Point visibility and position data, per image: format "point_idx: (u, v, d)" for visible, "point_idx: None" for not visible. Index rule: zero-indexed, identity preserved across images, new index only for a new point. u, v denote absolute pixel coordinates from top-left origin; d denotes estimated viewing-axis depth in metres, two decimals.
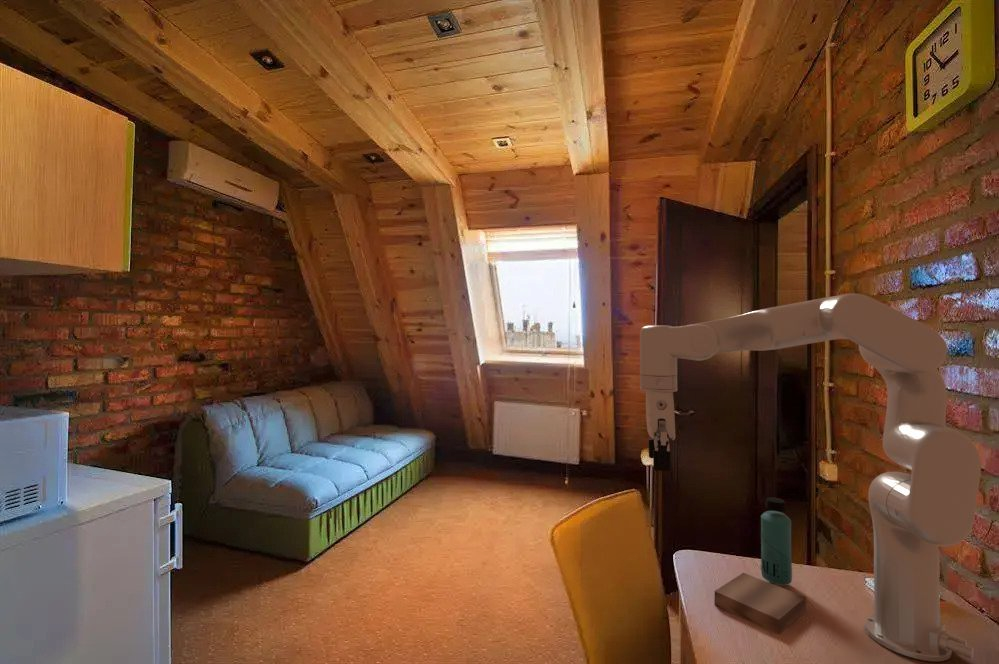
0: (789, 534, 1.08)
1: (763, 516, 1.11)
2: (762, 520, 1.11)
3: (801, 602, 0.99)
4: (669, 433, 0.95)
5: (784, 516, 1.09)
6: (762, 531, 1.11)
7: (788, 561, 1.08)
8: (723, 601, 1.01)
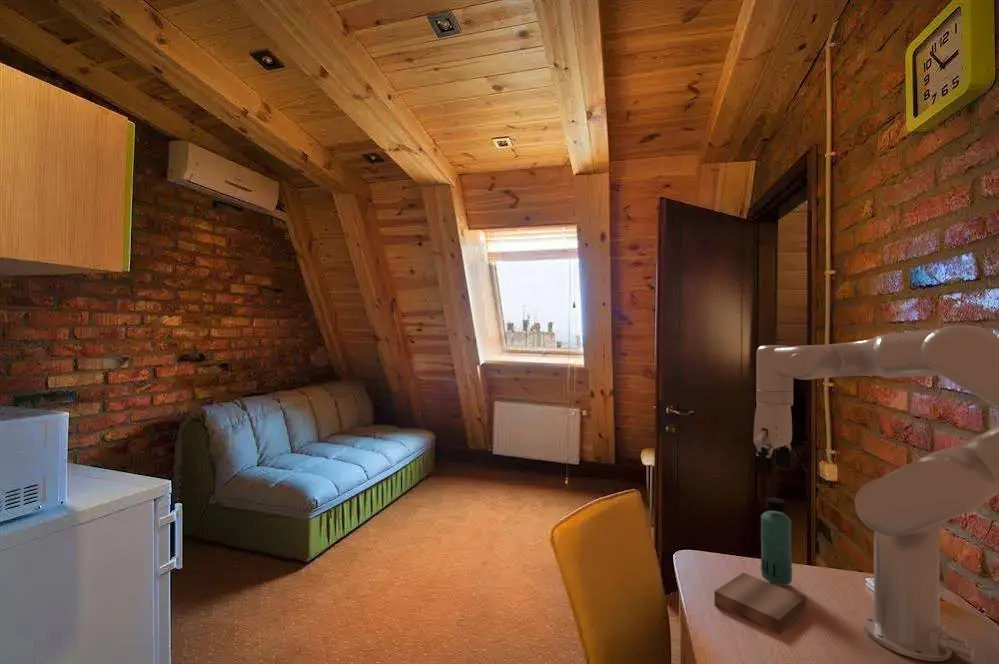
0: (789, 534, 1.08)
1: (763, 516, 1.11)
2: (762, 520, 1.11)
3: (801, 602, 0.99)
4: None
5: (784, 516, 1.09)
6: (762, 531, 1.11)
7: (788, 561, 1.08)
8: (723, 601, 1.01)
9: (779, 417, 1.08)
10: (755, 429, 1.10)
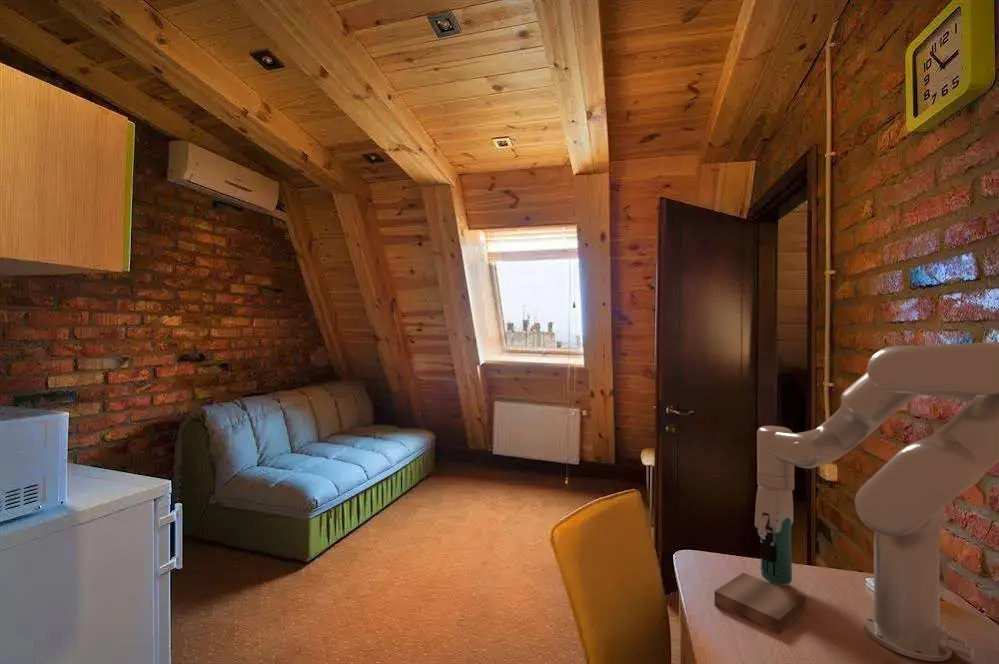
0: (789, 534, 1.08)
1: None
2: None
3: (801, 602, 0.99)
4: None
5: None
6: None
7: (788, 561, 1.08)
8: (723, 601, 1.01)
9: (780, 502, 1.07)
10: (756, 512, 1.10)
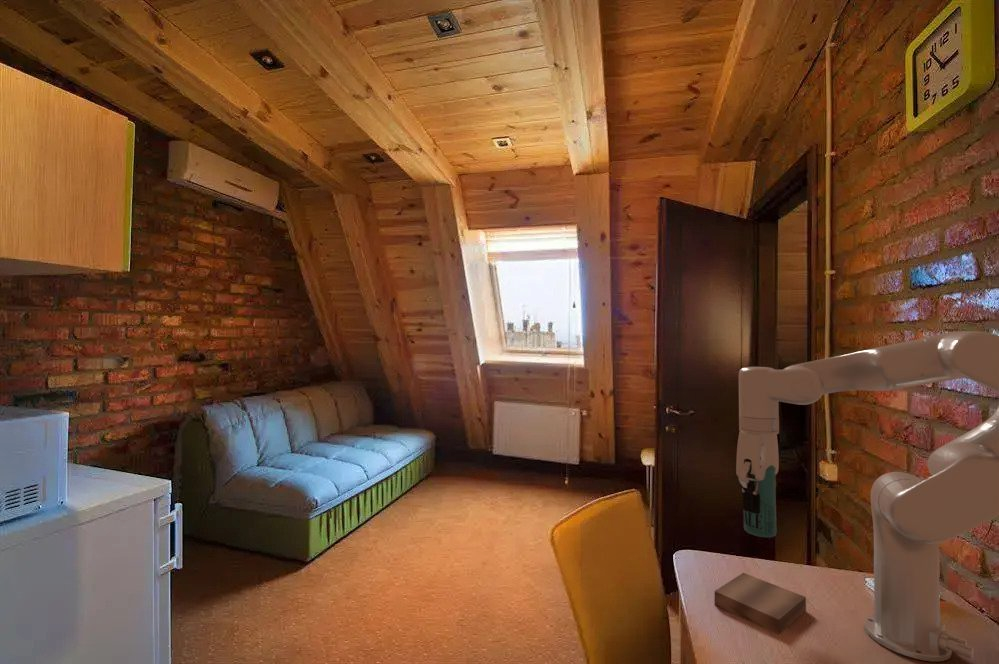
0: (773, 482, 0.99)
1: None
2: None
3: (801, 602, 0.99)
4: None
5: None
6: None
7: (772, 511, 0.99)
8: (723, 601, 1.01)
9: (763, 446, 0.98)
10: (738, 459, 1.00)
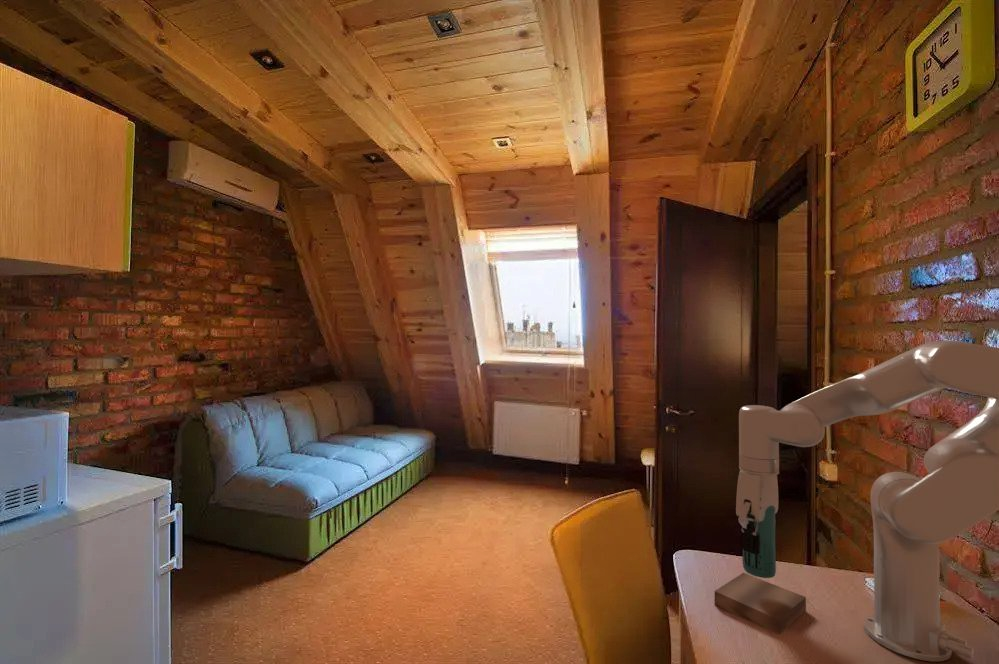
0: (773, 523, 0.99)
1: None
2: None
3: (801, 602, 0.99)
4: None
5: None
6: None
7: (771, 552, 0.99)
8: (723, 601, 1.01)
9: (764, 487, 0.98)
10: (737, 499, 1.00)
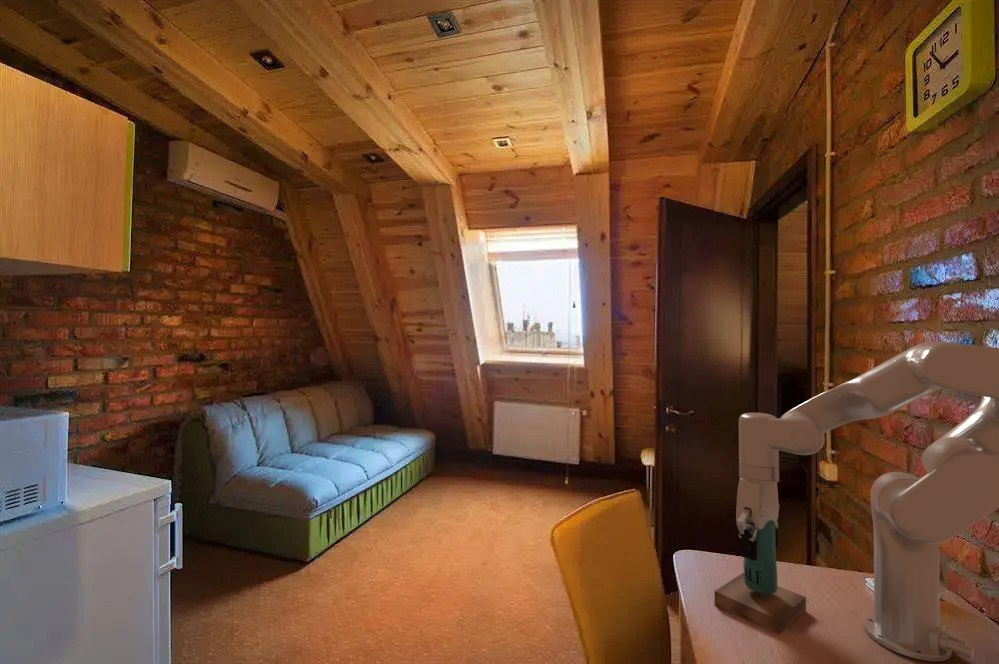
0: (773, 538, 0.99)
1: None
2: None
3: (801, 602, 0.99)
4: None
5: None
6: None
7: (772, 567, 0.99)
8: (723, 601, 1.01)
9: (764, 495, 0.98)
10: (738, 507, 1.00)
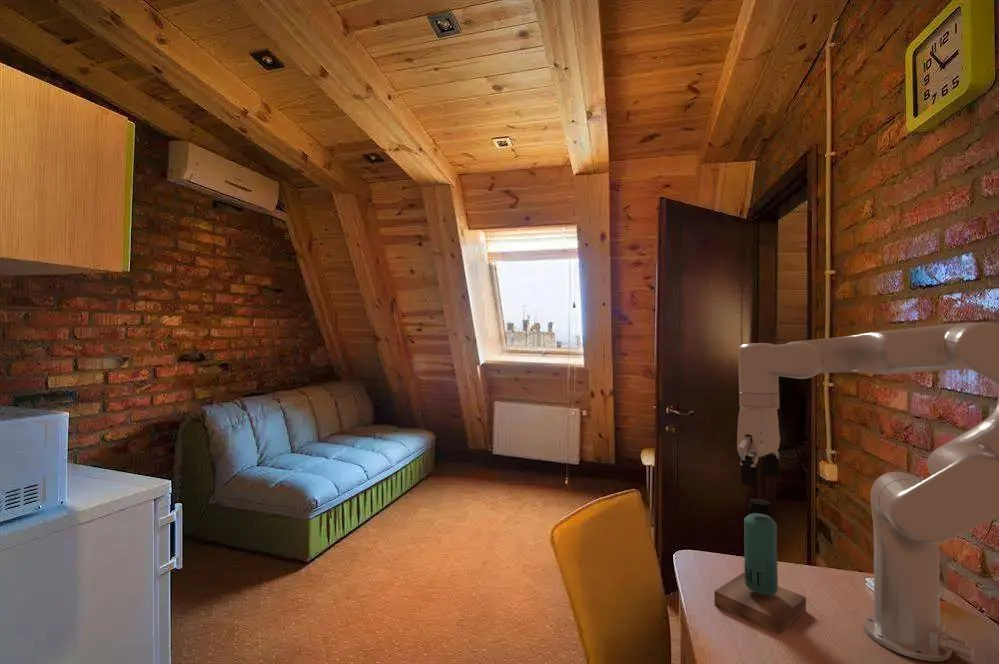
0: (774, 539, 0.99)
1: (746, 519, 1.02)
2: (745, 524, 1.01)
3: (801, 602, 0.99)
4: None
5: (769, 519, 1.00)
6: (745, 536, 1.02)
7: (773, 569, 0.98)
8: (723, 601, 1.01)
9: (764, 421, 0.98)
10: (738, 435, 1.00)
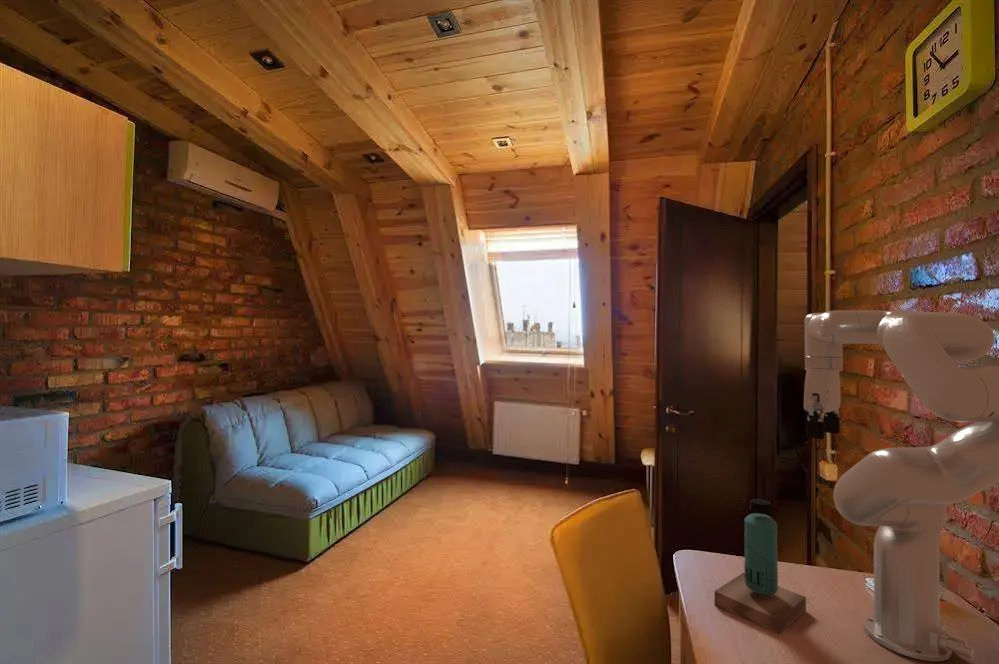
0: (775, 539, 0.99)
1: (747, 519, 1.02)
2: (746, 523, 1.01)
3: (801, 602, 0.99)
4: None
5: (769, 519, 1.00)
6: (746, 535, 1.02)
7: (773, 569, 0.98)
8: (723, 601, 1.01)
9: (830, 381, 1.10)
10: (805, 394, 1.12)
